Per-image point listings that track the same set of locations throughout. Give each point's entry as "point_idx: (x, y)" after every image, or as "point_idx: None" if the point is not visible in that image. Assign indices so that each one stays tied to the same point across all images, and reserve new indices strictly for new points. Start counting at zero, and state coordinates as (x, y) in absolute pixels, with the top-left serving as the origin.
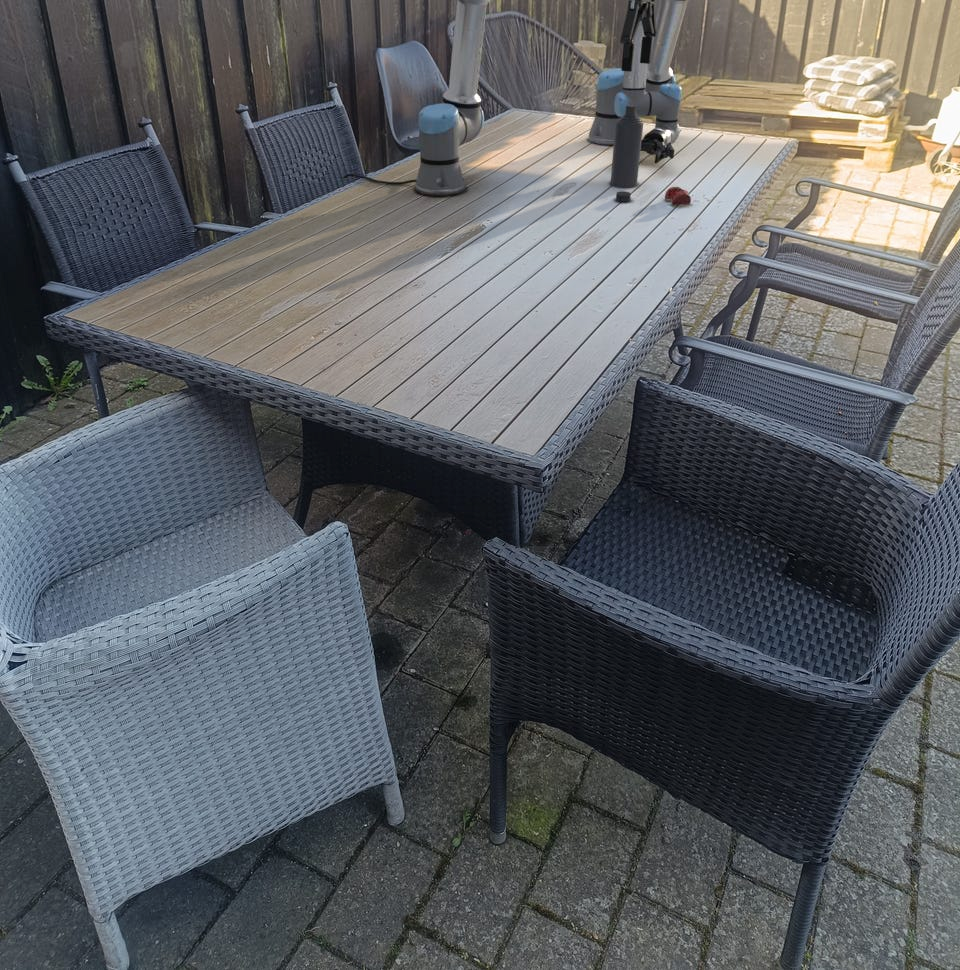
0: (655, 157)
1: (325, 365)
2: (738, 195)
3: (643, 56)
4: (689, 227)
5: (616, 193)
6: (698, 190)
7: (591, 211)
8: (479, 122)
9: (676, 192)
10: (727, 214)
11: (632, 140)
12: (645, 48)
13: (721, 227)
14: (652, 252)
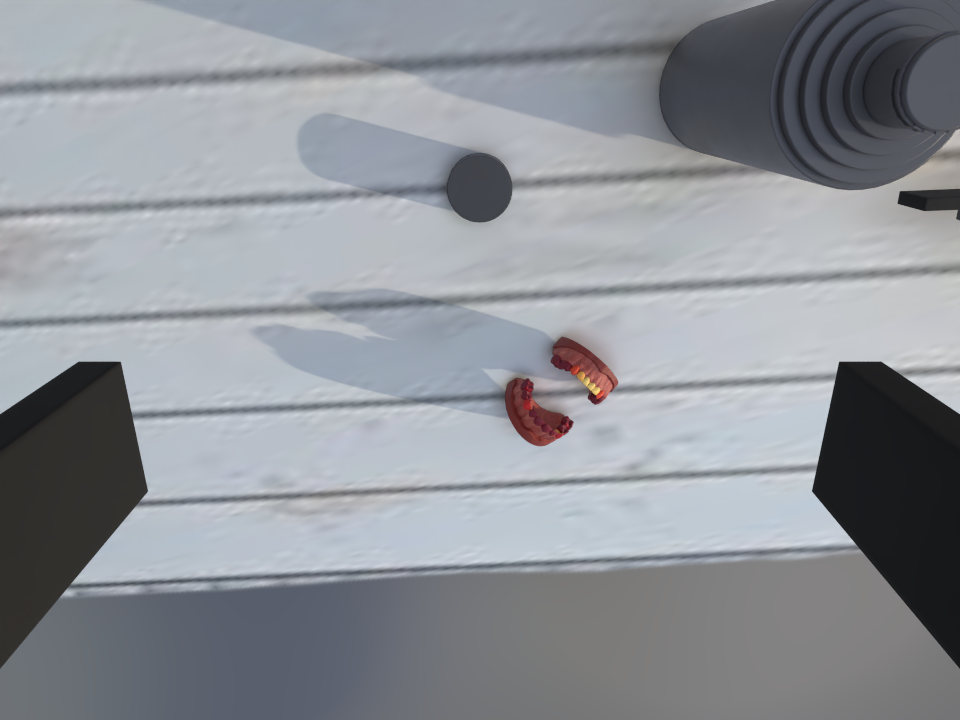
0: (915, 196)
1: None
2: (741, 533)
3: (884, 450)
4: (315, 497)
5: (464, 159)
6: (750, 402)
7: (266, 123)
8: None
9: (525, 406)
10: (511, 556)
11: (748, 146)
12: (955, 549)
13: (374, 573)
14: None
